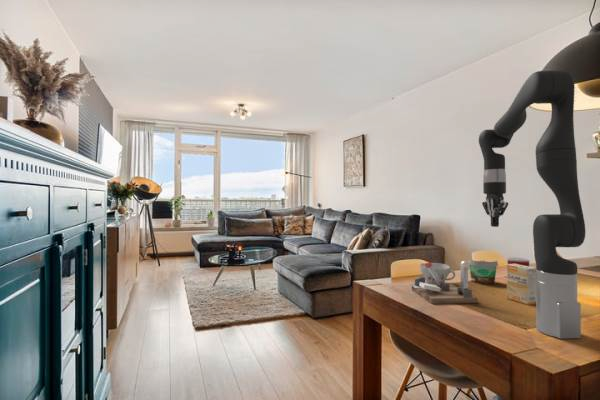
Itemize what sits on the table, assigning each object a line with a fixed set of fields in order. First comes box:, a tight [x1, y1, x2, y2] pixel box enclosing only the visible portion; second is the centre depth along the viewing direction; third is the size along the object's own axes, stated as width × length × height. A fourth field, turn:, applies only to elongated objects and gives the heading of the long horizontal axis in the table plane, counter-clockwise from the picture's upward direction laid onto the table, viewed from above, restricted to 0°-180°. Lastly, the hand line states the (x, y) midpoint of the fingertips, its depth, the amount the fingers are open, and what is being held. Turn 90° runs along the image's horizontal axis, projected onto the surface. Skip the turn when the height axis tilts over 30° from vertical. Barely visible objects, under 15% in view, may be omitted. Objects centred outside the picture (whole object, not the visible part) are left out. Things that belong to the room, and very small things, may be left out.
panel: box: [409, 280, 479, 305], centre depth 130 cm, size 20×18×5 cm
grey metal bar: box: [459, 260, 469, 294], centre depth 123 cm, size 3×3×12 cm
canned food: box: [507, 257, 530, 267], centre depth 147 cm, size 8×8×11 cm
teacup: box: [419, 262, 456, 284], centre depth 149 cm, size 15×12×8 cm
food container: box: [467, 259, 499, 285], centre depth 149 cm, size 12×6×10 cm, turn 76°
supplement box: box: [506, 263, 536, 306], centre depth 122 cm, size 8×5×13 cm, turn 21°
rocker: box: [419, 282, 441, 292], centre depth 128 cm, size 4×6×1 cm
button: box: [414, 276, 426, 286], centre depth 137 cm, size 4×4×3 cm
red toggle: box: [425, 261, 443, 287], centre depth 132 cm, size 3×3×12 cm
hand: (494, 226), depth 128 cm, fingers closed
